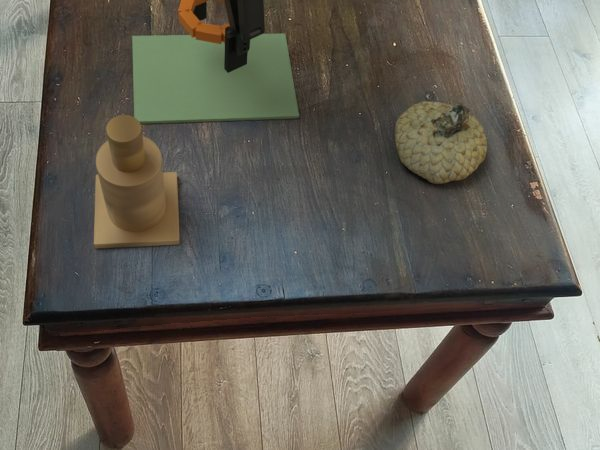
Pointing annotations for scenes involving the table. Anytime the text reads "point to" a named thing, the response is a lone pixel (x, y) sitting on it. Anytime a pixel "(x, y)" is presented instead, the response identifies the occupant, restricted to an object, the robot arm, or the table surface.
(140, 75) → the mat
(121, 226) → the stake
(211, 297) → the table surface
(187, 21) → the ring
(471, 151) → the acorn cap
